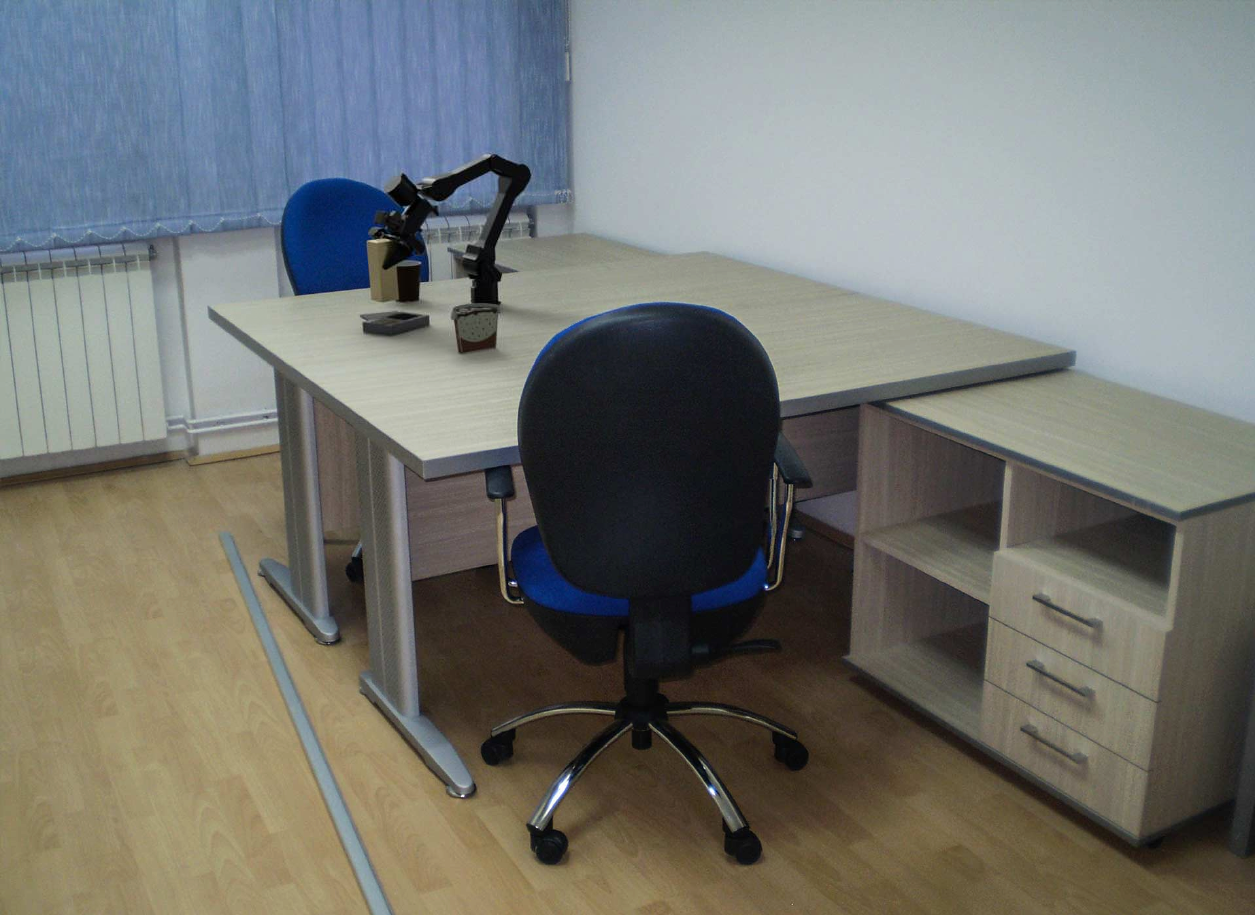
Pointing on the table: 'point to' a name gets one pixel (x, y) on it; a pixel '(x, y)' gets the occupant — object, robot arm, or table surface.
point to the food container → (475, 326)
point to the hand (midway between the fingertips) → (378, 267)
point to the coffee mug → (408, 280)
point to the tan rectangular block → (381, 271)
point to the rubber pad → (376, 315)
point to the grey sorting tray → (396, 323)
